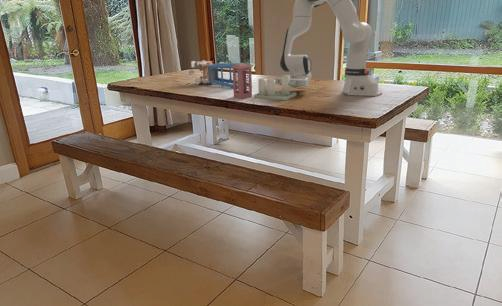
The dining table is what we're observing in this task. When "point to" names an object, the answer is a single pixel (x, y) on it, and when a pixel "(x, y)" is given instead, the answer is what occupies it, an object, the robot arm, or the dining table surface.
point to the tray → (277, 96)
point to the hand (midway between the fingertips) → (285, 83)
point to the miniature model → (242, 80)
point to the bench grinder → (213, 73)
